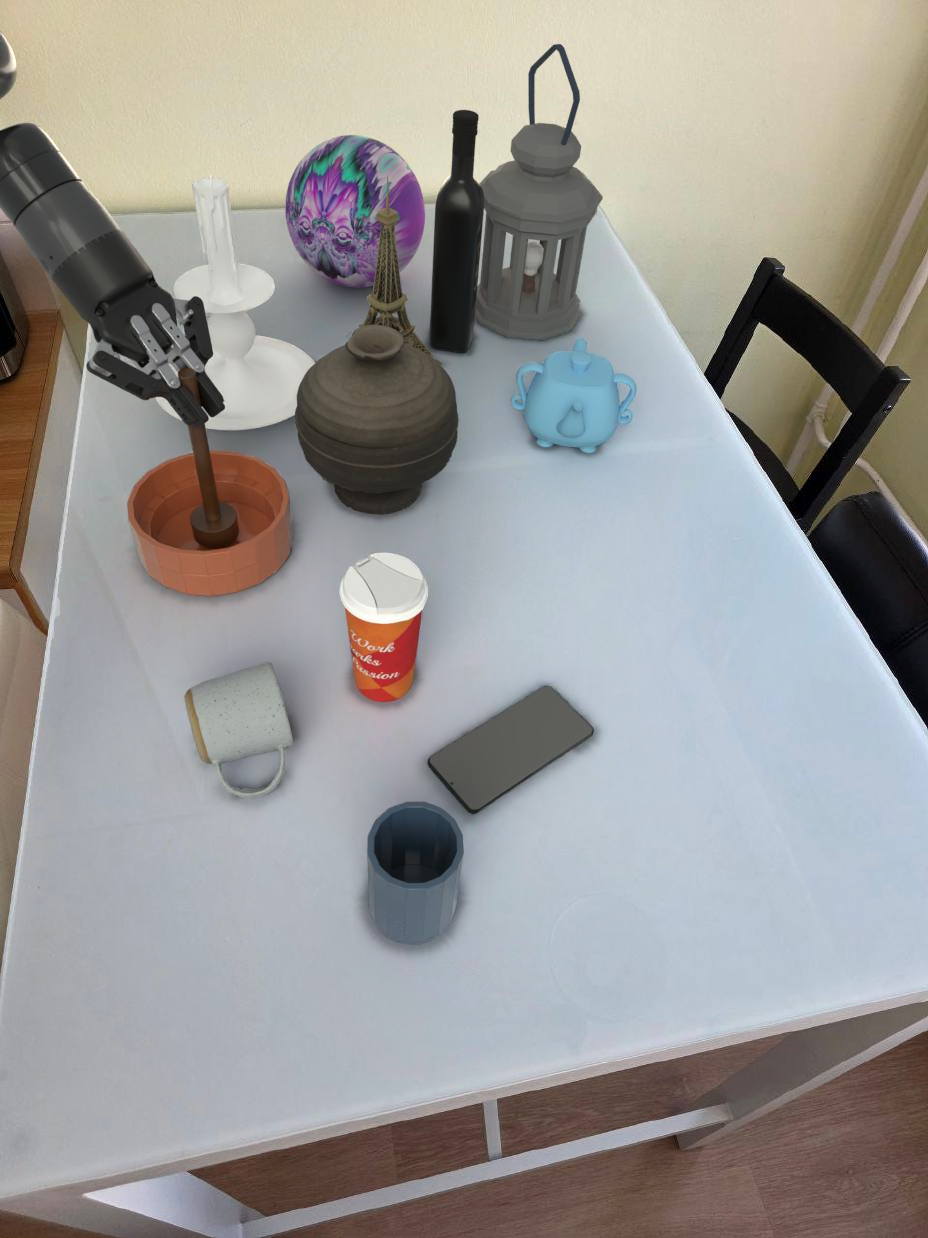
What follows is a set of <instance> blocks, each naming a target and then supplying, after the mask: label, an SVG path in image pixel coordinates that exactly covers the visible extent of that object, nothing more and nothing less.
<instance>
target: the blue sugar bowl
mask: <svg viewBox="0 0 928 1238" xmlns="http://www.w3.org/2000/svg"><path fill="white" fill-rule="evenodd" d="M587 347H588V341H587V339H586V338H583V337H578V338H577V339H576V340H575V341H574V345H573V350H557V351H554V352H551V353H550V354H548V356H546V357H545V359H544V360H543V362H542V363H538V362H528V363H525V364H523V365H521V366H520V368H519V369H518V371H517V372H516V385H517V388H518V392H517V393H515V394H513V395H512V397H511V399H510V404H511V406H512V408H513V409H515V410H517V411H523V416H524V421H525V424H526V426H527V427H528V430H529V431H530V433H531V434H532V435H533V436H534V437H535V438H537V439H536V444H537V445H538V446H540V447H542V448H550V447H553V446H554V445H557V446H561V447H566V448H567V447H569V448H578V449H579V450H580V451H581V452H583V453H586V454H591V453H594V452H595V451H596V450H597V447H598V446H600V445H602V444H604V443H605V442H607V441H608V440H610V438H612V436H613V435H614V434H615V432H616V430H617V427H618V424H619V425H627V424H629V423H631V422H632V420H633V417H634V414H633V411H632V410H631V409H630V408H628V407H629V406H630V405H631V403H632V402H633V400H634V398H635V397H636V394H637V389H638V388H637V383H636V381H635V380H634V378H632V377H631V376H629V375H627V374H625V373H615V371H614V368H613V365H612V363H611V362H610V361H609V360H608V359H607V358H605V357H603V356H601V355H598V354H594V353H590V352H587V349H588V348H587ZM529 372H532V373H533V372H534V375H533V377H532V379H531V381H530V384H529V386H528V389H526V386H525V382H524V375H525V374H527V373H529ZM618 383H620V384H624V385H626V386H628V387H629V391H628V393H627V395H626V397H625V398H624V399H623V400H622V402H620V392H619V386H618ZM518 400H521V401H518ZM620 403H621V404H620ZM624 415H626V416H624Z"/></svg>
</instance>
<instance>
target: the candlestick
mask: <svg viewBox="0 0 928 1238" xmlns="http://www.w3.org/2000/svg"><path fill="white" fill-rule="evenodd" d="M191 187H192V192H193V199H194V205H195V211H196V218H197V226H198V228H199V229H198V230H199V235H200V243H201V253H202V254H205V256H206V264H203V265H199V266H196V267H194V268H191V269H189V270H187V271H185V272H184V273H182V274H181V275H180V276H179V277H178V278H177V279H176V280H175V282H174V284H173V294H174V296H175V299H181V300H190V299H191V298H192V297H194V296H197V297H199V298H201V299H202V301H203V304H204V309H205V313H210V316H209V318H208V319H207V324H208V329H209V334H210V339H211V344H212V349H213V356H212V357H211V358H210V359H209V360H208V362H207V364H206V365H205V372H206V374H207V376H208V377H209V378H210V380H211V381H212V382H213V384H214V385H215V387H216V388H217V389H218V391H219V392H220V393H221V394H222V396H223V399H224V402H223V403H224V405H225V409H224V410H223V411H222V412H220V413H219V414H218V415H216V416H215V417H210V416H209V415H208V414H207V412H206V411H205V410H204V408H203V407H202V409H203V410H204V411H205V413H206V414H207V415H208V417H209V420H208V421H207V422H206V423H205V427H206V429H207V430H208V429H210V430H216V431H217V430H218V431H245V430H253V429H259V428H264V427H267V426H272V425H275V424H278V423H280V422H284V421H285V420H287V419H289V418H292V417H293V416H294V417H295V410H296V407H297V392H298V388H299V385H300V383H301V381H302V379H303V377H304V375H305V374H306V372H307V371H308V370H309V368H310V367H312V366H313V365H314V364H315V363H316V362H315V361H314V358H312V356H310V355H309V354H308V353H307V352H305V351H304V350H302V349H301V348H299V347H297V346H296V345H294V344H292V343H289V342H287V341H284V340H281V339H278V338H274V337H269V336H264V335H256V328H255V325H254V323H253V320H252V318H250V316H249V315H248V313H246V311H248V310H251V309H254V308H256V307H259V306H261V305H263V304H265V303H266V302H267V301H268V300H269V299H270V298H271V297H272V296H273V295H274V292H275V290H276V284H275V281H274V279H273V277H272V276H271V275H270V274H269V273H267V272H266V271H265V270H263V269H262V268H259V267H257V266H254V265H251V264H248V263H247V264H246V263H240V262H237V259H236V253H235V252H236V251H235V244H234V239H236V238H237V237H236V232H235V228H234V220H233V212H232V205H231V197H230V188H229V183H228V181H226V180H225V179H222V178H220V177H219V178H218V177H213V173H210V176H209V177H202V178H199V179H196V180H194V181H191ZM169 366H170V367H171V368H172V370H173V371H174V373H175V374H176V376H177V377H178V372H177V371H176V370H175V368H174V367H173V366H172V365H171V364H169ZM178 379H179V378H178ZM155 400H156V402H157V404H158V405H159V406H160V407H161V408H162V409H163V410H164V412H166V413H167V414H169V415H171V416H172V417H173V418H175V419H177V420H179V421H181V422H183V421H182V419H181V418H180V417H179V415H178V414H177V413H176V411H175V410H174V409H173V408H172V406H171V405H170V404H169V402H168V401H167V400H166V399H165V398H163V397H155Z"/></svg>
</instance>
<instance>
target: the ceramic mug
mask: <svg viewBox="0 0 928 1238" xmlns="http://www.w3.org/2000/svg"><path fill="white" fill-rule="evenodd" d="M184 703H185V709H186V714H187V717H188V721H189V725H190V729H191V732H192V737H193V740H194V743H195V747H196V750H197V753H198V755H199V758H200V759H201V760H202V761H203V762H204V763H206V764H209V765H214V766H215V771H216V774H217V776H218V779H219V781H220V783H221V785H222V786H223V787H224V788H225V790H227V791H228V792H229V793H230V794H232V795H234V796H236V797H239V798H243V799H255V798H260V797H262V796H265V795H268V794H269V793H270V792H272V791H273V790H275V789H276V788H277V787H278V785H279V784H280V782H281V780H282V778H283V776H284V773H285V769H286V749H287V748H289V747H292V746H293V745H294V739H293V733H292V728H291V724H290V720H289V716H288V711H287V709H286V705H285V701H284V698H283V695H282V691H281V687H280V685H279V682H278V678H277V675H276V671H275V668H274V665H273V663H272V662H270V661H266V662H263V663H260V664H257V665H253V666H251V667H248V668H244V669H240V670H238V671H234V672H232V673H229V674H225V675H223V676H219V677H215V678H212V679H207V680H205V681H202V682H200V683H198V684H195V685H194V686H192V687H190V688H188V689H187V690H186V692H185V694H184ZM273 751H279V753H280V757H279V759H280V760H279V768H278V770H277V773H276V774H275V775H274V778H272V780H271V782H270V783H269V784H268V785H267V786H262V787H256V788H249V787H246V786H245V787H242V788H240V787H237V786H233V785H232V784H231V783H229V781H227V780H226V777H225V775H224V774H223V770H222V764H225V763H230V762H235V761H236V760H239V759H243V758H246V757H247V758H248V757H252V756H256V755H261V754H267V753H271V752H273Z"/></svg>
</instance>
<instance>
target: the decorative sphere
mask: <svg viewBox="0 0 928 1238" xmlns="http://www.w3.org/2000/svg"><path fill="white" fill-rule="evenodd" d="M407 162H408V161H406V160H405V159H404V157H402V156H401V155H400V154H399V153H398V152H397V151H396V150H395V149H393V148H392V147H391V146H389V145H387V144H386V143H384V142H383V141H380V140H378V139H375V138H372V137H369V136H365V135H358V134H346V135H344V134H343V135H339V136H335V137H332V138H329V139H327V140H324V141H322V142H320V143H318V144H317V145H315V146H314V147H313V148H312V149H310V150H309V151H308V152H307V153H306V154H305V155H303V157H302V158H301V160H300V161H299V162H298V164H297V165H296V167H295V169H294V171H293V172H292V175H291V177H290V179H289V182H288V185H287V189H286V194H285V204H284V205H285V206H284V210H285V213H284V214H285V220H286V227H287V231H288V233H289V236H290V239H291V243H292V245H293V247H294V248H295V250H296V252H297V253H298V255H299V256H300V258H301V259H302V260H303V261H304V263H305V264H306V265H307V266H308V267H309V268H310V269H311V270H312V271H313V272H315V273H316V274H318V275H319V276H320V277H321V278H323V279H325V280H327V281H329V282H331V283H333V284H336V285H338V286H342V287H347V288H353V289H354V288H355V289H357V288H358V289H359V288H360V289H361V288H369V287H373V286H374V278H375V270H376V262H377V254H378V245H379V236H380V227H381V223H380V222H379V221H377V220H376V219H375V218H376V217H377V215H378V214H379V213H377V211H379V210H382V209H384V208H386V196H387V176H388V189H389V208H390V209H393V210H395V211H397V212H398V213H397V214H396V215H397V216H398V217H399V219H400V220H399V221H397V222H396V223H394V228H395V237H396V246H397V256H398V264H399V272H400V273H401V272H402V271H403V270H404V269H405V268H406V267H407V266H408V265H409V264H410V263H411V261H412V259H413V258H414V256H415V255H416V253H417V251H418V249H419V248H420V244H421V241H422V239H423V235H424V230H425V223H426V206H425V200H424V199H425V198H424V195H423V191H422V188H421V185H420V183H419V180H418V179H417V176H416V174H415V172H414V171H413V169H412V167H411V166H410V165H409V163H407Z"/></svg>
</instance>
